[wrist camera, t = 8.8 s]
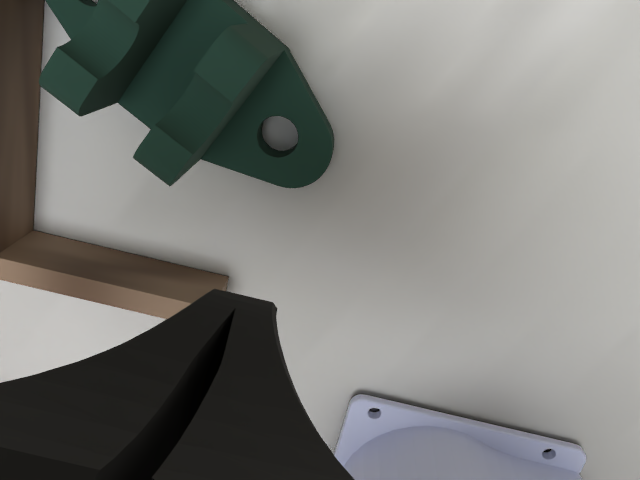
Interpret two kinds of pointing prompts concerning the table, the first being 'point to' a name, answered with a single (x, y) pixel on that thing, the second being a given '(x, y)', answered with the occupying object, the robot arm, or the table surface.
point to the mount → (190, 85)
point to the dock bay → (19, 196)
